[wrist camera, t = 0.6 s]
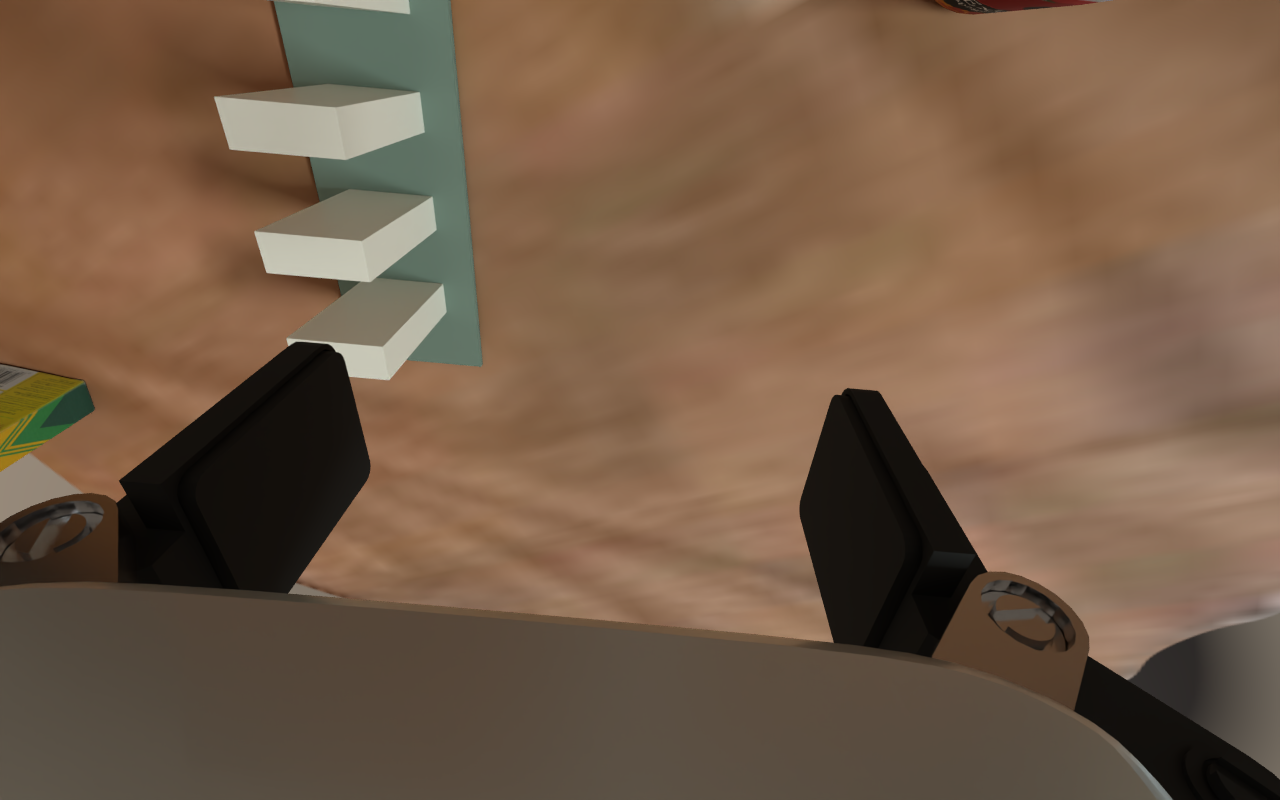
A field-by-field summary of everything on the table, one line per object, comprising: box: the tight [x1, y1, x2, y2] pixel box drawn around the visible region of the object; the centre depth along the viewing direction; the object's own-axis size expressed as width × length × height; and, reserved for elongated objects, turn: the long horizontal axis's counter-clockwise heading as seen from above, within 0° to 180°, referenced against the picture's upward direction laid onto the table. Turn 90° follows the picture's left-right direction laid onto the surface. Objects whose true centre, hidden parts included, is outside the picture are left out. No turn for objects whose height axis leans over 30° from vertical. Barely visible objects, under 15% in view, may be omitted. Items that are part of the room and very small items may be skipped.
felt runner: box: [274, 0, 483, 367], centre depth 31 cm, size 32×9×1 cm, turn 176°
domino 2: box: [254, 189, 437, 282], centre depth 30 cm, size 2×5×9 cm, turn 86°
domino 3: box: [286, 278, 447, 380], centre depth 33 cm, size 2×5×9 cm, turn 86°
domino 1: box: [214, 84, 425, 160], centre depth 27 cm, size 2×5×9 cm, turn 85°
